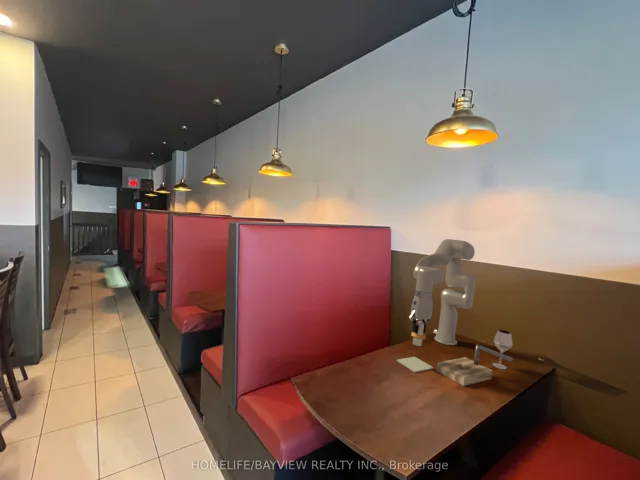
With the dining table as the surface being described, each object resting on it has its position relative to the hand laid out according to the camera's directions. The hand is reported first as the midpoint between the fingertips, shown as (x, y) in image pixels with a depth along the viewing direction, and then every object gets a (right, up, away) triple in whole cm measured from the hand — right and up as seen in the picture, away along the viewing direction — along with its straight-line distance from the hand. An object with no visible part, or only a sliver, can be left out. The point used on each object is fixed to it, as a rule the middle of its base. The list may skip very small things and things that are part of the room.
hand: (418, 331), depth 147 cm
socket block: (+20, -19, -4) cm, 27 cm away
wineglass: (+44, -21, +9) cm, 49 cm away
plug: (-1, -6, 0) cm, 6 cm away
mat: (-2, -16, +1) cm, 16 cm away
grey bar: (+31, -16, -6) cm, 35 cm away
